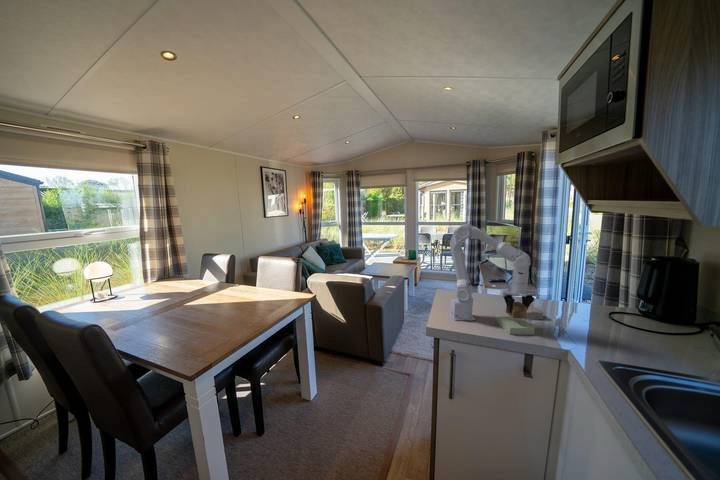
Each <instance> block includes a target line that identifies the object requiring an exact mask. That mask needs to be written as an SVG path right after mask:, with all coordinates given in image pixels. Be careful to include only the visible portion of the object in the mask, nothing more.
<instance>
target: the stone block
mask: <svg viewBox="0 0 720 480" xmlns="http://www.w3.org/2000/svg"><path fill="white" fill-rule="evenodd" d="M523 319H524V320H527V319H529V320H530V321H533V320H535V319H537V321H538V320H543V319H544V312H543V311H542V310H541V309H540V308H537V307H534V306H533V304H532V303H531V304H530V306H529V307H528V309H527V315H526V318H523ZM535 321H536V320H535Z"/></svg>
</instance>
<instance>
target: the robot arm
mask: <svg viewBox="0 0 720 480" xmlns="http://www.w3.org/2000/svg"><path fill="white" fill-rule="evenodd" d="M469 238H470V240H480V241H481V242H483V243H484V244H487V245H488V246H490V247H491V248H493V249H495V252H496V254H498V256H501V257H502V258H503V259H506V260H507V261H509V262H511V263H513V269H512V274H511V275H512V276H511V277H512V278H511V287H510V289H506V290H500V291H499V296H501V297H503V299H504V303H505V304H506V306H507V311H508V312H509V313H512V308H513V303H514V302H516V301H515V300H516V299H515V298H514V297H521V303H522V304H523V305H525V306H526V307H527V309H528V307H529V306H530V304H532V303H533V302H534V301H535V298H534V297H538V291H536V290H529V289H528V285H529V284H528V283H529V276H530V275H529V274H530V271H529V269H530V266H531V258H530V255H529V254H528V253H526V252H525V251H523V250H522V249H518V248H516V247H514V246H513V245H512V243H510V242H506V241H501V242H500V241H499V240H497V239H495V238H494V237H492V236H491V235H490V234H488V233H486V232H485V231H483V230H482V229H480V228H478V227H477V226H475V225H474V226H473V225H472V224H471V223H468V222H467V223H463V224H461V225H458V226H457V228H456V229H454V231H453V233H452V235H451V239H450V241H449V248H450V249H449V250H450V252H451V256H452V262H453V267H454V271H455V276H456V292H455V296H456V298H451V299H450V307H449V315H450V316H451V317H452V319H453V320H454V321H476V318H475V317H474V316H473V308H474V307H473V305H474V298H473V296H472V295H473V294H474V291H475V289H474V286H473V285H472V283H471V280H470V278H469V277H468V271H467V266H466V262H465V261H466V260H465V257H464V251H463V250H464V249H463V248H462V245H463V244H464V242H465V241H466V240H467V239H469Z"/></svg>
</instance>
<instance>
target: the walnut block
mask: <svg viewBox="0 0 720 480" xmlns="http://www.w3.org/2000/svg"><path fill="white" fill-rule="evenodd" d="M505 313H506V314H507V315H508V317H512V318H523V319H524V318H526V315H527V307H526V306H525V305H523V304H522V302H520V301H514V303H513V308H512V313H509V312H508V311H507V305H506V307H505Z"/></svg>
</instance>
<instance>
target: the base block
mask: <svg viewBox="0 0 720 480" xmlns="http://www.w3.org/2000/svg"><path fill="white" fill-rule="evenodd" d="M497 324H498V325H499V326H500V327H501V328H502V329H503V330H504V331H505V332H506V333H508V335H509V336H510V335H511V336H512V335H513V336H514V335H518V336H521V335H522V336H523V335H527V336H528V335H532V336H533V335H535V329H536V328H535V326H533V325H532V324H531V323H529V322H528V321H527V320H526V319H524V318H512V317H511V316H497Z"/></svg>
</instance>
